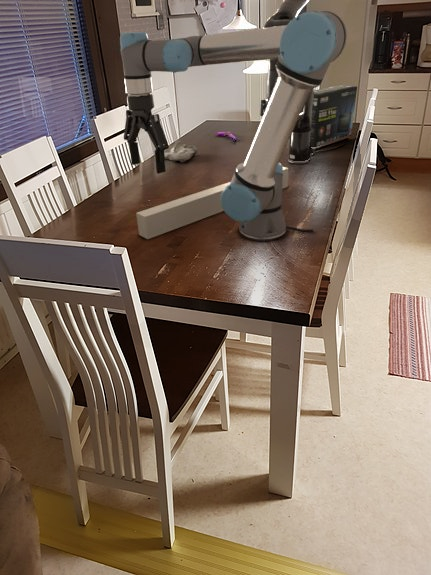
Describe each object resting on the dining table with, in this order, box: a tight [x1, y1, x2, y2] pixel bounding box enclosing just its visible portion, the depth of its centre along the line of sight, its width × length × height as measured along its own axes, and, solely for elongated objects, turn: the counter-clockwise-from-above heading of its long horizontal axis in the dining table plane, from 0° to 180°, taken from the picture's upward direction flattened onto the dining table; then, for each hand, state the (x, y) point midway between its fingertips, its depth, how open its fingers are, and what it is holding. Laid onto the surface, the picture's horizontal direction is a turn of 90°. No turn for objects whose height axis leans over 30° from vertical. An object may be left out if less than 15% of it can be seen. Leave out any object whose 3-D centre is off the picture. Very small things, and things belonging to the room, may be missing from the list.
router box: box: [301, 84, 358, 147], centre depth 238 cm, size 36×11×27 cm, turn 134°
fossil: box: [164, 142, 199, 163], centre depth 229 cm, size 18×11×15 cm
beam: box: [135, 166, 289, 240], centre depth 167 cm, size 69×5×8 cm, turn 132°
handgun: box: [216, 130, 237, 143], centre depth 261 cm, size 21×8×2 cm, turn 11°
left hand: (148, 168), depth 141 cm, fingers open, 13 cm apart
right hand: (275, 130), depth 173 cm, fingers open, 8 cm apart
